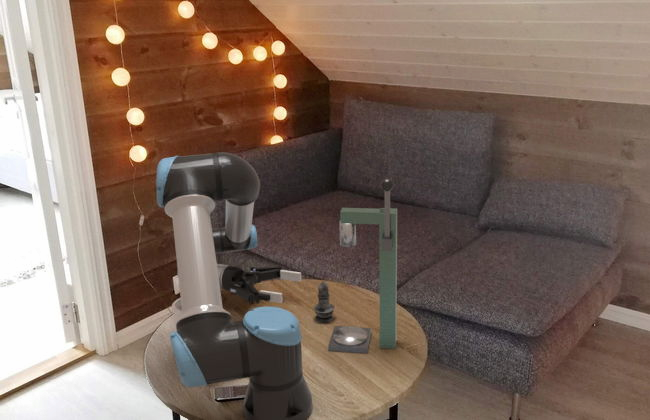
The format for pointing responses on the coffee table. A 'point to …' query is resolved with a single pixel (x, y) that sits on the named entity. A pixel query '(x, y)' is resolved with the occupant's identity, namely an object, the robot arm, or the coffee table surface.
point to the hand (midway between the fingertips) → (291, 287)
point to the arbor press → (387, 220)
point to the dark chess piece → (324, 305)
